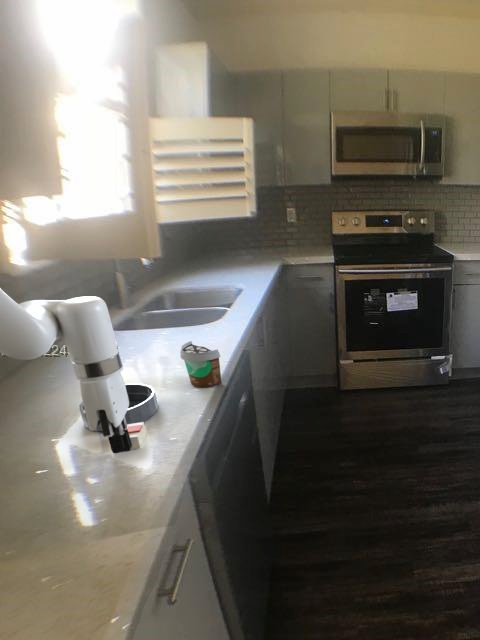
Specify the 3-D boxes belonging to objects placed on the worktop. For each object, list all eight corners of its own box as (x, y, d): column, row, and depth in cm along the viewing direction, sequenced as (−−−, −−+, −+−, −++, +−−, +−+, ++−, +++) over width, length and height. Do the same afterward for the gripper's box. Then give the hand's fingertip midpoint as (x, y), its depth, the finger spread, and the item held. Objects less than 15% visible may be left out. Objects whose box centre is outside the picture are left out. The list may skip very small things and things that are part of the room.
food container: (176, 382, 121) (168, 347, 117) (196, 374, 126) (190, 340, 122) (204, 394, 115) (197, 357, 111) (225, 385, 119) (219, 349, 115)
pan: (75, 438, 97) (69, 419, 95) (96, 405, 110) (91, 388, 109) (152, 426, 101) (147, 408, 99) (163, 396, 114) (159, 380, 112)
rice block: (113, 452, 92) (109, 439, 91) (120, 436, 97) (117, 423, 96) (140, 448, 93) (137, 434, 92) (146, 433, 98) (143, 420, 97)
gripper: (87, 352, 89) (111, 433, 96) (60, 385, 76) (90, 476, 83) (129, 348, 91) (150, 427, 98) (110, 379, 78) (135, 468, 85)
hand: (122, 449), depth 90 cm, fingers closed
